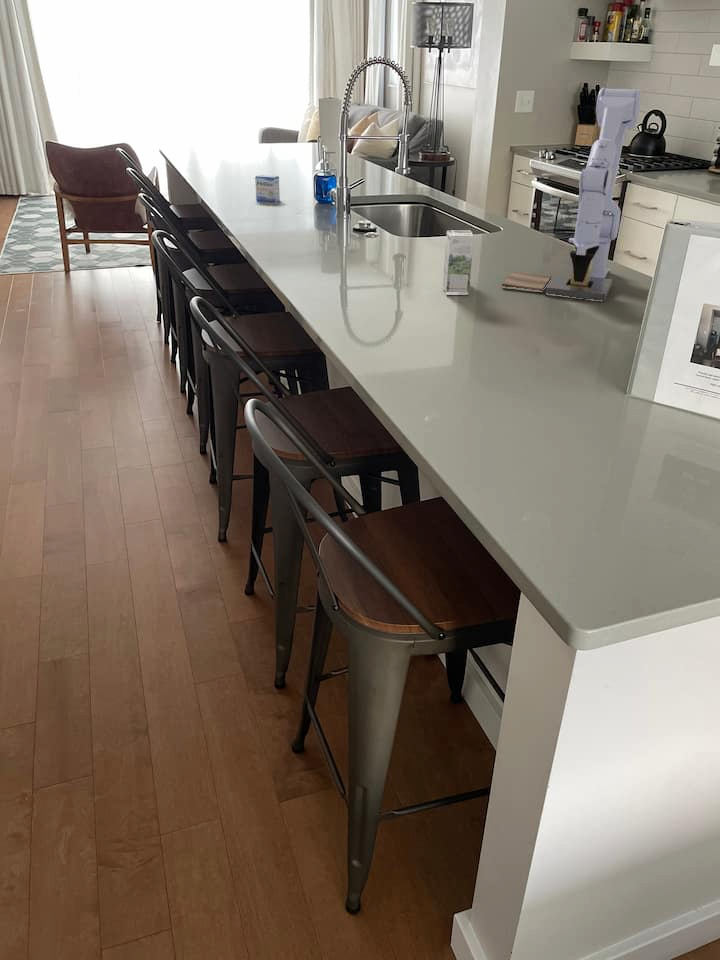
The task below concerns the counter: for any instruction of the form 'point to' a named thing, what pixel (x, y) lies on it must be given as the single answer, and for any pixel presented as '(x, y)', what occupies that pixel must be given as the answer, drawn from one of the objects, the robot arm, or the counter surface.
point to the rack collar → (594, 291)
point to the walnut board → (527, 281)
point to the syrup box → (458, 260)
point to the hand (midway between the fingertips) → (580, 278)
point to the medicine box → (267, 188)
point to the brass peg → (586, 280)
